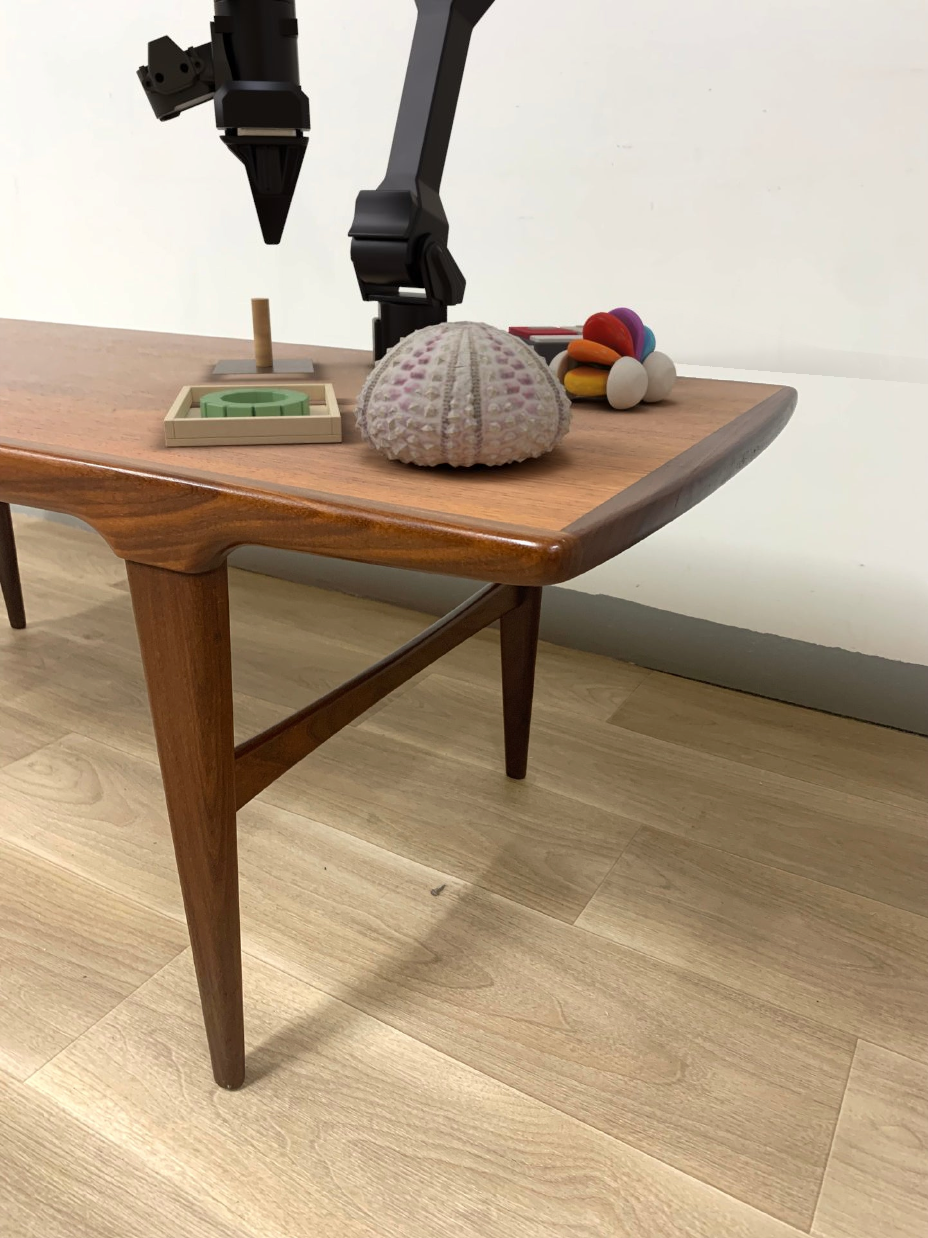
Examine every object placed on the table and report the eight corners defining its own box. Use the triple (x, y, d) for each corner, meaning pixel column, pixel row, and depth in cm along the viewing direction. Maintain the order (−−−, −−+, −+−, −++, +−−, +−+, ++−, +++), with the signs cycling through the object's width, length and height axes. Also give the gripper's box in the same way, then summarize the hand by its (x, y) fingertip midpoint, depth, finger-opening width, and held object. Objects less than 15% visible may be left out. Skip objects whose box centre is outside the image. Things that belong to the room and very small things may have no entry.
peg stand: (312, 364, 94) (308, 294, 92) (314, 379, 86) (310, 302, 84) (219, 365, 93) (212, 294, 90) (212, 380, 85) (205, 302, 82)
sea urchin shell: (311, 456, 59) (304, 321, 56) (452, 423, 69) (453, 307, 66) (479, 495, 51) (481, 341, 48) (610, 452, 61) (620, 322, 58)
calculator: (607, 323, 98) (656, 332, 84) (605, 366, 99) (652, 382, 85) (502, 324, 96) (534, 333, 82) (501, 367, 98) (532, 384, 84)
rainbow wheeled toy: (531, 401, 77) (535, 307, 74) (601, 387, 84) (607, 300, 81) (619, 416, 72) (626, 316, 69) (686, 400, 78) (695, 308, 76)
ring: (308, 405, 72) (307, 387, 71) (311, 426, 65) (310, 405, 64) (205, 408, 71) (203, 388, 70) (197, 429, 64) (194, 408, 63)
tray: (333, 405, 75) (332, 383, 74) (341, 442, 63) (340, 416, 62) (185, 408, 73) (183, 385, 72) (166, 446, 61) (163, 420, 60)
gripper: (151, 23, 75) (175, 238, 81) (117, -27, 58) (150, 248, 64) (295, 28, 77) (307, 237, 83) (303, -20, 60) (317, 247, 66)
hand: (272, 241), depth 74 cm, fingers open, 9 cm apart
